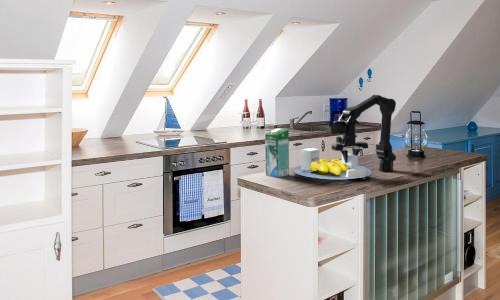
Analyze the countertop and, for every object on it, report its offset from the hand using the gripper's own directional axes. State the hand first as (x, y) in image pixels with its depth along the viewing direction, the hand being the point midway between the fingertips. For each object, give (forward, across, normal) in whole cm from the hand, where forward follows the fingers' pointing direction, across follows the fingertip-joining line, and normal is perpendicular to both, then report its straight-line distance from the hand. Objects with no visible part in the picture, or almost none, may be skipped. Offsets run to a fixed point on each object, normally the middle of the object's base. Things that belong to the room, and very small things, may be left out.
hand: (349, 162), depth 254 cm
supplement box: (+8, +14, -19) cm, 25 cm away
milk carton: (+8, +34, -18) cm, 39 cm away
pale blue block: (+1, 0, 0) cm, 1 cm away
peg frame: (+8, 0, 0) cm, 8 cm away
